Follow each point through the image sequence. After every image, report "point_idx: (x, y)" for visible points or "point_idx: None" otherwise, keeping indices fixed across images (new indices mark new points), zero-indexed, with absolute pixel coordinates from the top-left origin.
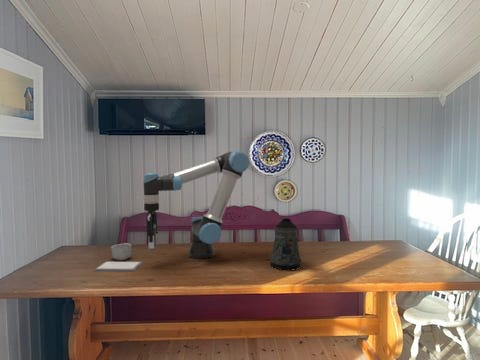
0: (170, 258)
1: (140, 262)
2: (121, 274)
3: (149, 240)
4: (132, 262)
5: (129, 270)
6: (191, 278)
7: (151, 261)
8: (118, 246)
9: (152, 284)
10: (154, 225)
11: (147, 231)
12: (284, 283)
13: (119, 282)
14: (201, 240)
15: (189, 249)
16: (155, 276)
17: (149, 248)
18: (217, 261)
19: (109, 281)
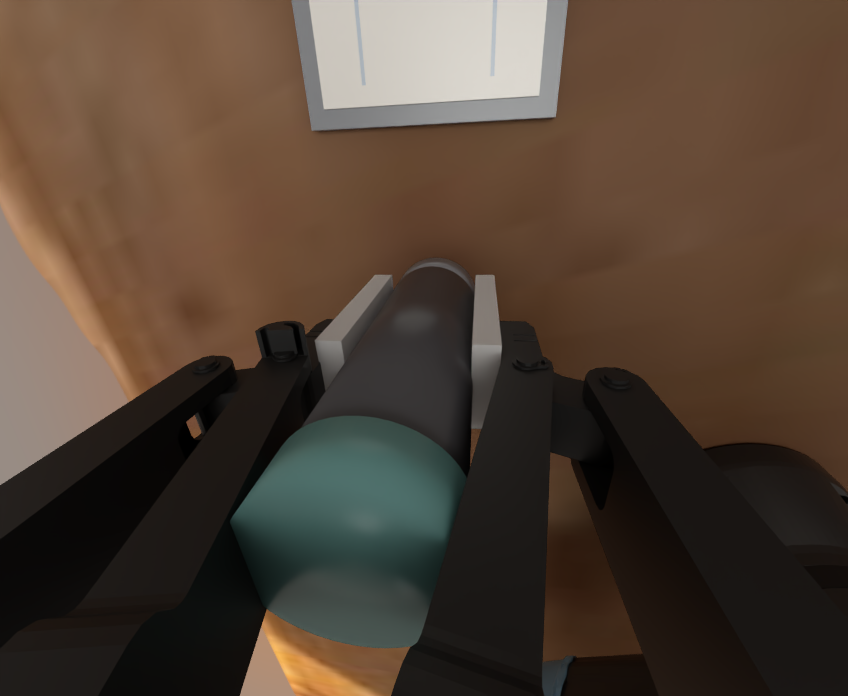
0: (688, 332)
1: (535, 105)
2: (217, 47)
3: (311, 333)
4: (526, 7)
5: (308, 85)
6: None
7: (614, 191)
8: None
9: (135, 336)
10: (299, 612)
11: (135, 410)
12: (299, 672)
13: (71, 123)
14: (561, 665)
15: (767, 485)
16: (251, 321)
17: (407, 272)
18: (556, 567)
19: (48, 22)
